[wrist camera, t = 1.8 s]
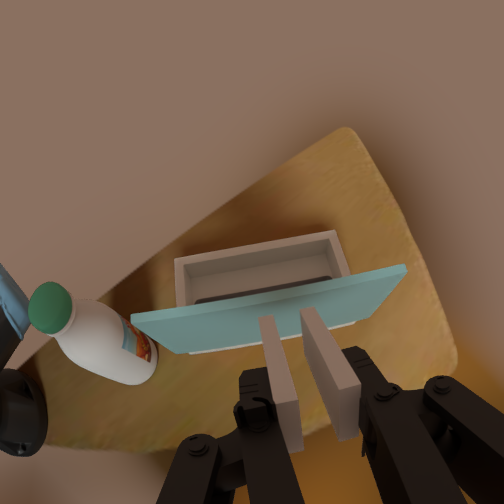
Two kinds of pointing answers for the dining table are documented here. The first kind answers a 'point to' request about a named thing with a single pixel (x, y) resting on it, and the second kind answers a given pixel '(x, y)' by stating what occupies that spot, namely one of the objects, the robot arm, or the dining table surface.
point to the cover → (268, 312)
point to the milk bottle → (93, 335)
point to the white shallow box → (259, 271)
